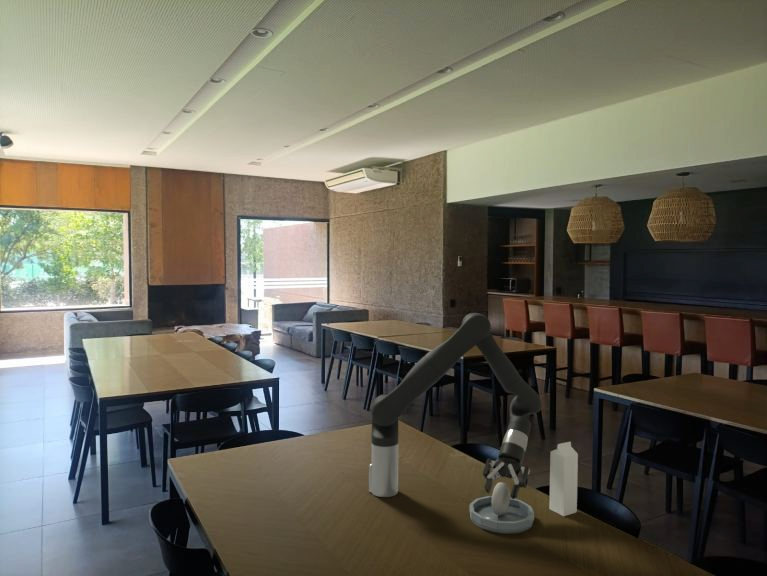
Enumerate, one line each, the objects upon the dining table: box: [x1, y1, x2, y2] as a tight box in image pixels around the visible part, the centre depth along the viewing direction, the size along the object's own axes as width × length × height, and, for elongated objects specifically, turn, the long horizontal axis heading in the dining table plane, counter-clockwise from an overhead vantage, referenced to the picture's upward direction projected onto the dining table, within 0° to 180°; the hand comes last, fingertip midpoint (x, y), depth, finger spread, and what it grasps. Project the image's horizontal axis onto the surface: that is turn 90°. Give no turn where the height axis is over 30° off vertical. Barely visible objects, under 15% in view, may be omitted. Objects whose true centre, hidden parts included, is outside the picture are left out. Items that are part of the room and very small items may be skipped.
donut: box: [491, 481, 511, 516], centre depth 172 cm, size 10×4×10 cm, turn 148°
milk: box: [548, 441, 579, 517], centre depth 178 cm, size 6×6×22 cm
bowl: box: [469, 495, 535, 535], centre depth 172 cm, size 19×19×3 cm
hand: (499, 494), depth 171 cm, fingers open, 7 cm apart
